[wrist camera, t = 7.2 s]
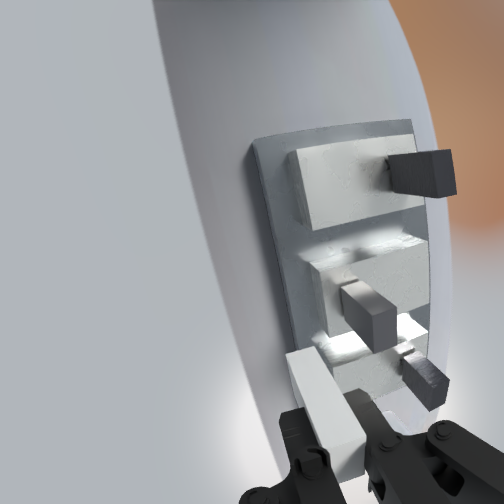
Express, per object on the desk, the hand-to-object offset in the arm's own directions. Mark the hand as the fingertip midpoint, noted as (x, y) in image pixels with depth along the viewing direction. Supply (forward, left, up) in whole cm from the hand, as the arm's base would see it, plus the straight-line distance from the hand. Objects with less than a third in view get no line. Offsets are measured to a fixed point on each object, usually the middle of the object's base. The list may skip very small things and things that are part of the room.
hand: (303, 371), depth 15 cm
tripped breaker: (-4, +3, -6) cm, 8 cm away
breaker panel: (-7, +4, -10) cm, 13 cm away
